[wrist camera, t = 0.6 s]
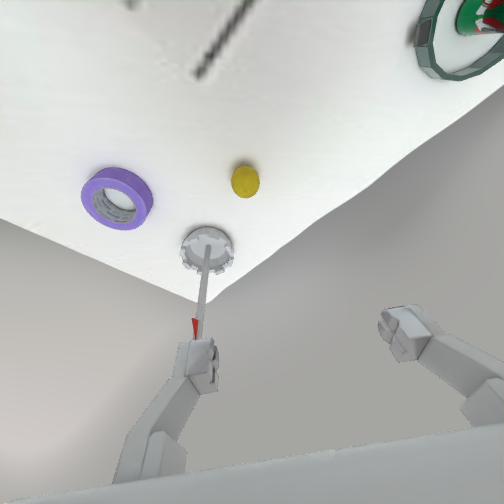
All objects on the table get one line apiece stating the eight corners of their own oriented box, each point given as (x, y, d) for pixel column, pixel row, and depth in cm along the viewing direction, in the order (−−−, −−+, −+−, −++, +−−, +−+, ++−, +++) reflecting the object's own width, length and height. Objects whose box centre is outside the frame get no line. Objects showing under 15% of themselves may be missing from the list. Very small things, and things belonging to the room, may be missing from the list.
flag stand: (235, 260, 62) (237, 373, 40) (189, 262, 62) (165, 379, 40) (231, 222, 54) (230, 341, 32) (177, 225, 53) (139, 348, 31)
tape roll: (105, 154, 41) (92, 164, 38) (162, 191, 47) (156, 203, 43) (84, 197, 47) (72, 209, 43) (138, 226, 53) (131, 239, 49)
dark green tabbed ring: (417, -44, 28) (432, -52, 26) (586, -119, 25) (620, -135, 23) (399, 96, 38) (409, 99, 36) (518, 54, 35) (537, 54, 33)
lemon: (261, 165, 45) (266, 183, 39) (251, 189, 48) (254, 208, 42) (236, 155, 43) (236, 172, 37) (227, 181, 46) (227, 199, 41)
